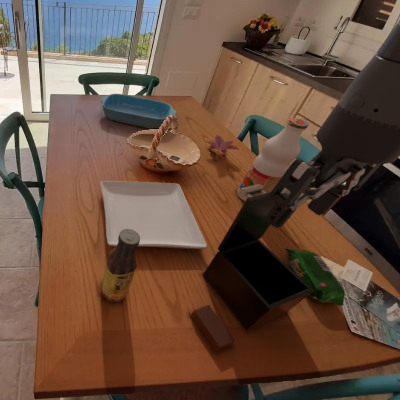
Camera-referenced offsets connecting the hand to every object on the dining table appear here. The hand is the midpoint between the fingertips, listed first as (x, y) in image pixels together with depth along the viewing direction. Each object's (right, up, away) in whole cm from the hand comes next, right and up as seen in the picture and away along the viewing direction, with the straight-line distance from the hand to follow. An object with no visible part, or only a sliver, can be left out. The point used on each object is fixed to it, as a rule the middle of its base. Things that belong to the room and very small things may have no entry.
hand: (294, 217), depth 39 cm
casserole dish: (-3, +43, +96) cm, 105 cm away
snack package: (+27, -18, +30) cm, 45 cm away
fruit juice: (+28, +4, +54) cm, 61 cm away
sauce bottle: (-23, -19, +25) cm, 39 cm away
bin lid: (+7, -2, +19) cm, 21 cm away
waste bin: (+9, -20, +27) cm, 34 cm away
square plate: (-11, -3, +44) cm, 45 cm away
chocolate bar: (-3, -26, +20) cm, 32 cm away
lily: (+26, +21, +73) cm, 81 cm away
